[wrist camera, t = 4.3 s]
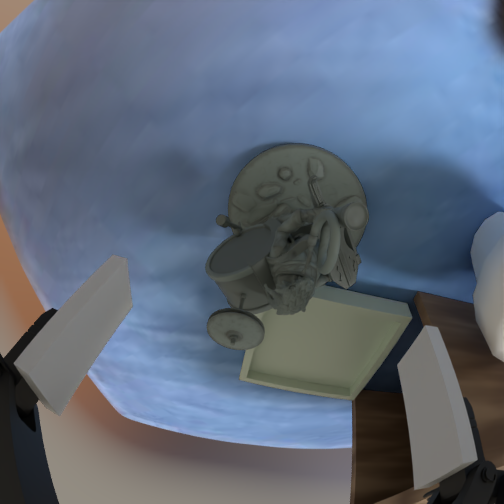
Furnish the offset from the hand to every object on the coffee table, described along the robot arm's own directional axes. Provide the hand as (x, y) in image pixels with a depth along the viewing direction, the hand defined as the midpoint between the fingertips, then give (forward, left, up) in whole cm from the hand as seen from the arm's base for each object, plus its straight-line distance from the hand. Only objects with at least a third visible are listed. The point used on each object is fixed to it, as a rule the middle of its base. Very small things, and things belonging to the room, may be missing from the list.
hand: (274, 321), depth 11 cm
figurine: (0, 0, -13) cm, 13 cm away
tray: (+13, +6, -12) cm, 19 cm away
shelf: (+13, +21, -12) cm, 28 cm away
